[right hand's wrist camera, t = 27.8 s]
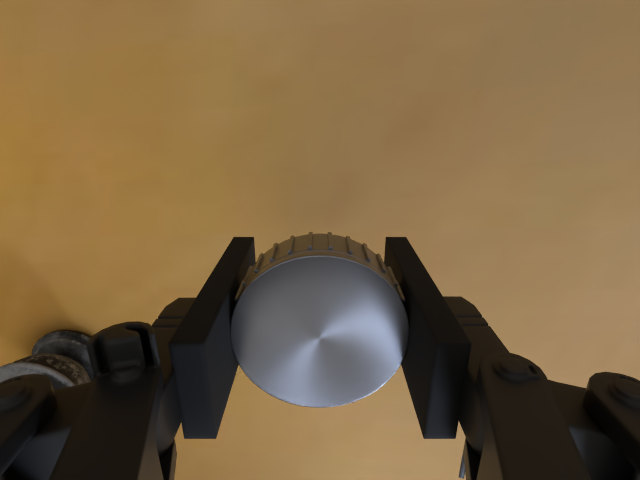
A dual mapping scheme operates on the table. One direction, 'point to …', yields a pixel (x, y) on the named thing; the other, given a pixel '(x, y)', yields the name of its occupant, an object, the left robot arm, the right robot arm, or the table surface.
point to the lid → (319, 321)
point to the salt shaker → (55, 360)
